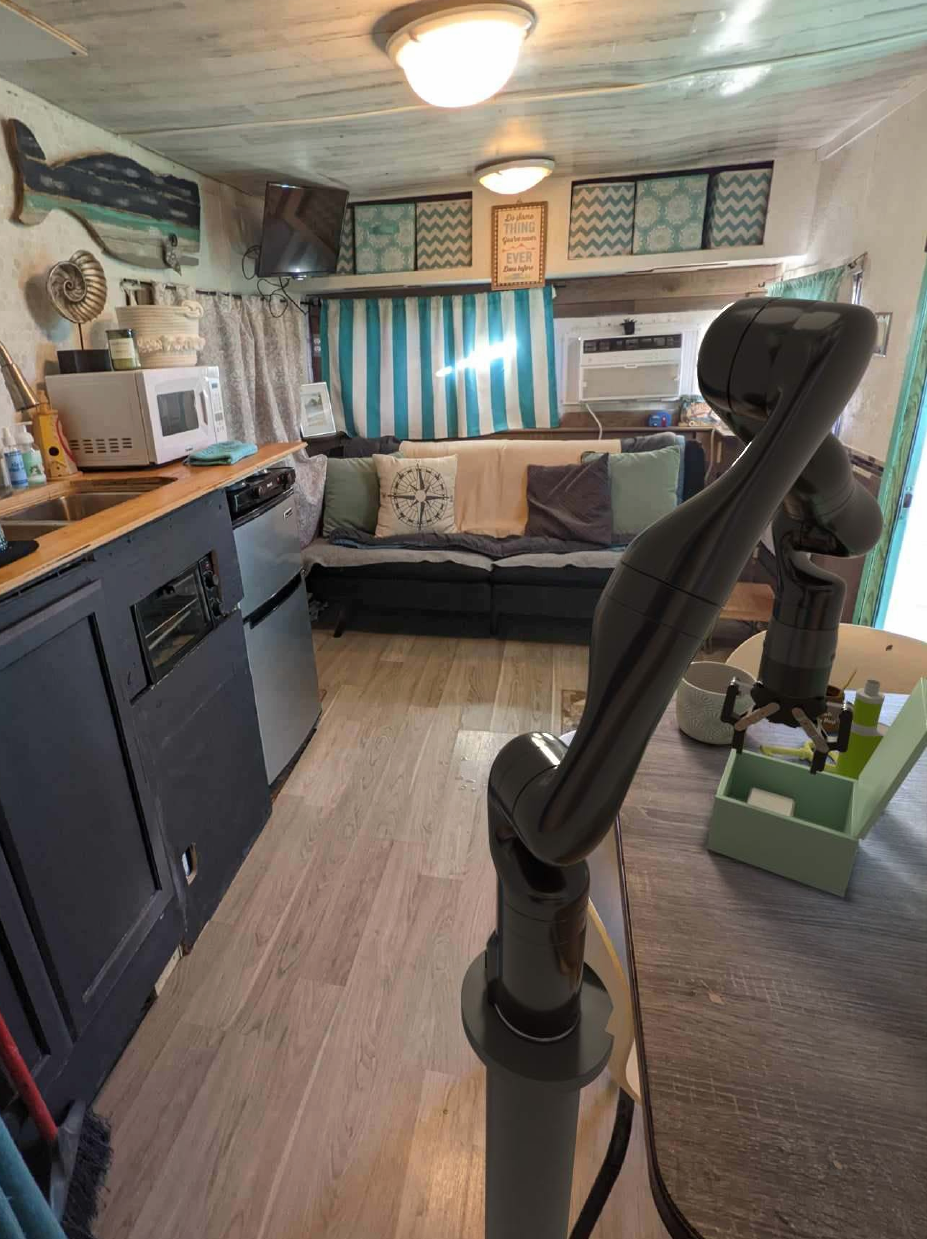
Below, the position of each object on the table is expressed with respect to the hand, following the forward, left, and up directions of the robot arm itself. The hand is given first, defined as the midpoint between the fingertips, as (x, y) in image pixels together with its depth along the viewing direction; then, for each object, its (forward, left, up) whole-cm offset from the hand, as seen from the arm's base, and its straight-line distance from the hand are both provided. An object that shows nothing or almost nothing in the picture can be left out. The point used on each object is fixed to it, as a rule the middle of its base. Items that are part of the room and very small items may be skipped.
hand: (775, 761), depth 86 cm
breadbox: (+2, 0, -12) cm, 13 cm away
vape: (+10, +15, -13) cm, 22 cm away
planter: (-11, +24, -13) cm, 29 cm away
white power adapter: (+1, 0, -12) cm, 12 cm away
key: (+3, +23, -13) cm, 26 cm away
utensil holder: (+5, +36, -13) cm, 38 cm away
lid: (+11, 0, +5) cm, 12 cm away
